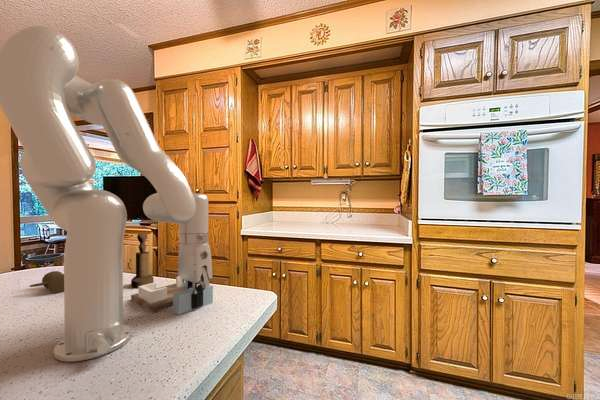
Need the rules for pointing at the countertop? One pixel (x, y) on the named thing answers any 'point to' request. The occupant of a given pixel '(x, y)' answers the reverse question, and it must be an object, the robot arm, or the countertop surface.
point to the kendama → (52, 282)
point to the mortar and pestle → (142, 264)
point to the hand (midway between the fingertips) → (193, 305)
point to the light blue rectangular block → (184, 299)
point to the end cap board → (159, 304)
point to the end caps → (155, 291)
